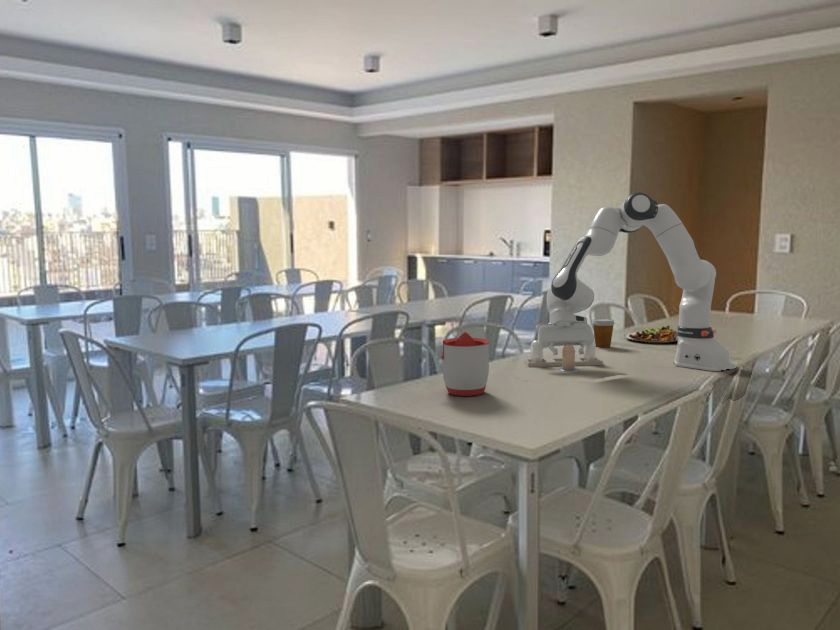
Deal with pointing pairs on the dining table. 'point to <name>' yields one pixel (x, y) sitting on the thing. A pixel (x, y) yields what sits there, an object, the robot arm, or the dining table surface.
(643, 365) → the dining table surface
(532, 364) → the egg tray
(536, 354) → the white egg
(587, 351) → the white rounded cylinder
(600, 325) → the disposable coffee cup
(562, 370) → the saucer
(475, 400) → the dining table surface
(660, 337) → the plate of food
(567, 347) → the beige rounded cylinder
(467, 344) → the citrus juicer
